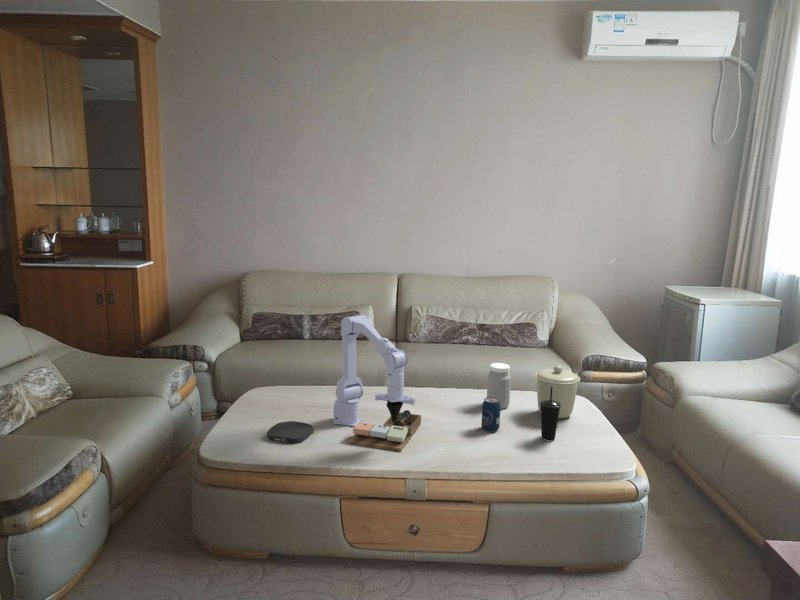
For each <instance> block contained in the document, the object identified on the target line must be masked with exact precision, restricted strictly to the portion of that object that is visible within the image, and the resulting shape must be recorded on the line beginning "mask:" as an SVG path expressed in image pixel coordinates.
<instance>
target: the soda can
mask: <svg viewBox="0 0 800 600" xmlns="http://www.w3.org/2000/svg"><path fill="white" fill-rule="evenodd" d="M500 406H501V405H500V402H499V399H497V398H493V397H488V398H487V397H485V398H484V399H483V402H482V405H481V428H482V430H483V431H485V432H488V433H496V432H497V431H498V430H499V428H500V427H501V425H500V424H501V409H500Z"/></svg>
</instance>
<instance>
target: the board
mask: <svg viewBox="0 0 800 600" xmlns="http://www.w3.org/2000/svg"><path fill="white" fill-rule="evenodd" d="M401 413H402V412H401V411H400V412H399V415H398V419H399V417H400V414H401ZM391 422H392V418H391V416H390V417H389V418H388V419H387V420H386V421H385V422H384V423H383V424H382V426H389V427H391V426H392V425H393V426H396V424H395V425H394V424H392V423H391ZM406 422H408V423H411V424H410V426H409V427H408V426H407V429H408V432H407V435H406V437H405V439H404V441H403V442H397V441H390V440H387V437H386V438H381V437H374V436H370V435H369V436H367V435H361V434H353V435H352V436H351V437H350V438H349V440H348V444H350V445H353V446H354V445H355V446H356V445H357V446H361V447H367V446H369V448H374V447H376V449H381V448H383V449H382V450H387V449H392V450H391V451H394V450H398V451H397V452H400V451H403V450H404V449H405V447H407V445H408V443H409V442H410V441H411V439H412V438H413V437H414V435H415V433H416V432H417V431H418V429H419V428H420V427H421V425H422V415H421V414H416V413H411V415H410V417H409V418H408V419H407V420H405V421H404V423H406ZM419 426H420V427H419ZM400 427H402V426H400ZM416 430H417V431H416ZM413 434H414V435H413ZM411 437H412V438H411ZM409 440H410V441H409ZM406 444H407V445H406ZM403 448H404V449H403ZM402 449H403V450H402Z"/></svg>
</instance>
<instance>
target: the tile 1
mask: <svg viewBox="0 0 800 600" xmlns="http://www.w3.org/2000/svg"><path fill="white" fill-rule="evenodd" d="M374 426H375V424H373V423H365V422H361V421H360V422H359V423H358V424H357V425H356V426H353V427H352V434H353V435H355V434H361V435H367V436H369V435H370V430H371V429H372V428H373V427H374Z"/></svg>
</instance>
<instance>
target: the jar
mask: <svg viewBox="0 0 800 600" xmlns="http://www.w3.org/2000/svg"><path fill="white" fill-rule="evenodd" d="M510 370H511V366H510V365H509V364H508V363H507V364H506V363H503V362H493V363H491V364H490V365H489V373H488V375H487V383H486V385H487V386H486V387H487V389H486V398H488V397H493V398H497V399H499V402H500V405H501V406H500V410H503V409H504V410H505V409H506V408H508V407H509V405H510V401H511V380H512V376H511V375H510Z"/></svg>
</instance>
